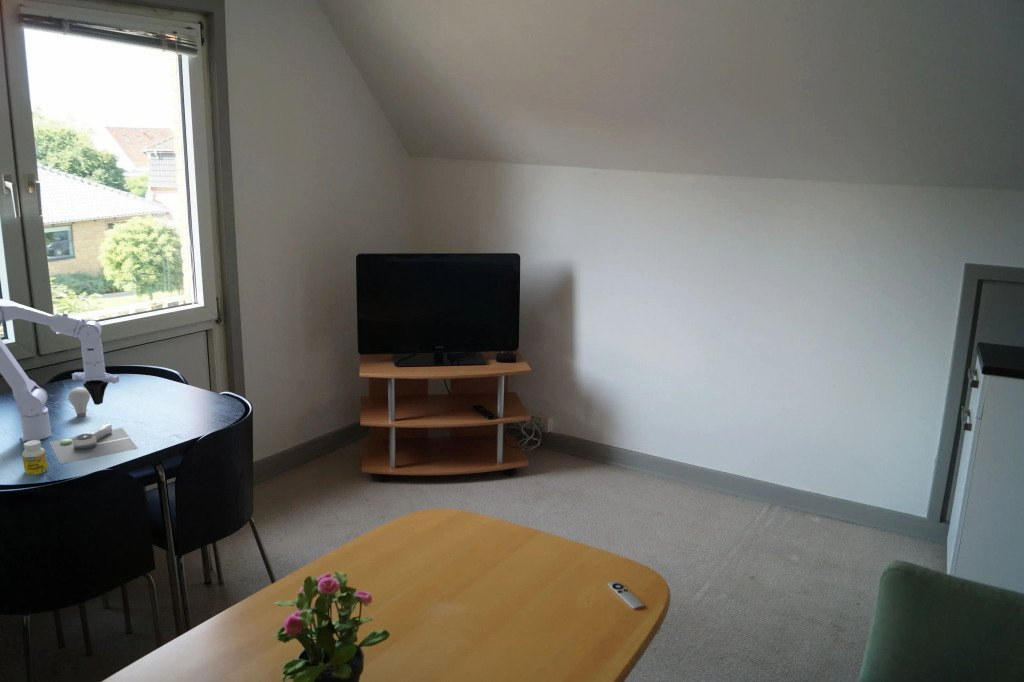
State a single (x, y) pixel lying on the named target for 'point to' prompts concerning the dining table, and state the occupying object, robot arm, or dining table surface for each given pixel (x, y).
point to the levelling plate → (105, 446)
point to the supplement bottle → (34, 458)
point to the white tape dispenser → (91, 438)
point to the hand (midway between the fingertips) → (98, 403)
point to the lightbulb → (79, 400)
